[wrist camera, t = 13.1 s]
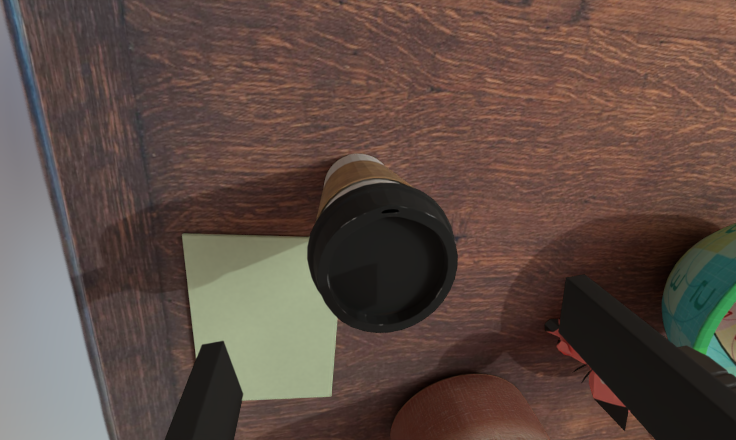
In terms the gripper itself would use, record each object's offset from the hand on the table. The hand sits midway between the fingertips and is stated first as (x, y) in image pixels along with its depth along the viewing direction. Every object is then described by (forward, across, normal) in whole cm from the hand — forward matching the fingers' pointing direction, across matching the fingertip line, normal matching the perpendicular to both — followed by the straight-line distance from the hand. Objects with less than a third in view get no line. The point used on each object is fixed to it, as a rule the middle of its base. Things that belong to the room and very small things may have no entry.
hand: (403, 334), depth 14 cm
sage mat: (+19, -10, -14) cm, 26 cm away
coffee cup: (+20, 0, -1) cm, 20 cm away
